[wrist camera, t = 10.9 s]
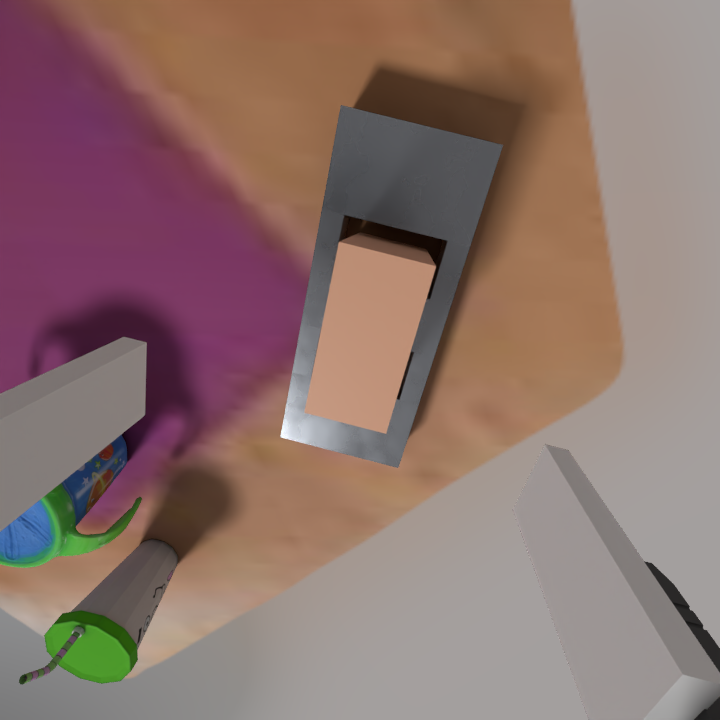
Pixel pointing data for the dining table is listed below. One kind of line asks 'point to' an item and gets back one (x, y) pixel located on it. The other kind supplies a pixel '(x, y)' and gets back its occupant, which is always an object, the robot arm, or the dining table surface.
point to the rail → (400, 210)
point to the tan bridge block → (368, 330)
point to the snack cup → (66, 514)
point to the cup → (111, 618)
